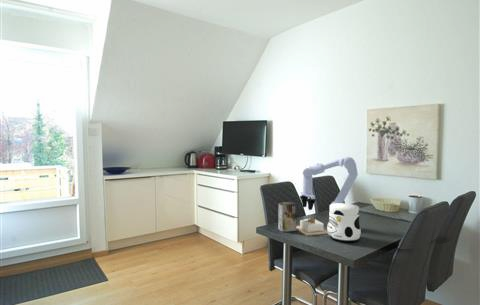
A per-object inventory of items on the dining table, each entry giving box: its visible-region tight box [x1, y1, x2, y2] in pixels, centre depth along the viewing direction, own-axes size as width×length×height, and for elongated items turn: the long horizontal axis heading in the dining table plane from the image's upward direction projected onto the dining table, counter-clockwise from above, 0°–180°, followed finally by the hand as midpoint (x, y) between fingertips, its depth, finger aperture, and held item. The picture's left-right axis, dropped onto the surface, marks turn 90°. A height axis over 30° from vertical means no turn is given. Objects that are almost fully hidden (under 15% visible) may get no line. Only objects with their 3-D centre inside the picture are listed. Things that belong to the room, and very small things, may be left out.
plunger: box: [307, 216, 316, 224], centre depth 183 cm, size 7×7×6 cm
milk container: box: [326, 202, 362, 242], centre depth 168 cm, size 17×17×18 cm
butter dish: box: [296, 218, 328, 236], centre depth 183 cm, size 16×17×5 cm
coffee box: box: [277, 201, 297, 233], centre depth 183 cm, size 9×6×16 cm
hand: (307, 208), depth 194 cm, fingers open, 7 cm apart
